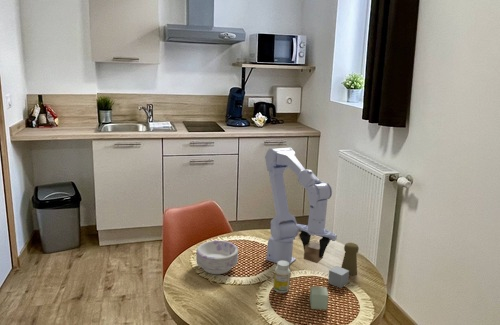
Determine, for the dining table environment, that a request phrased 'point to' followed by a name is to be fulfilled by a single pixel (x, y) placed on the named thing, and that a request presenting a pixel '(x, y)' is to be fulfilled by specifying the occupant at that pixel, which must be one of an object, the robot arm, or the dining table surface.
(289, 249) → the robot arm
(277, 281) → the supplement bottle
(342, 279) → the slate grey block
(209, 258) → the white purple bowl
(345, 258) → the olive brown rounded piece
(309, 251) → the walnut block
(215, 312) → the dining table surface
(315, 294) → the sage green block
